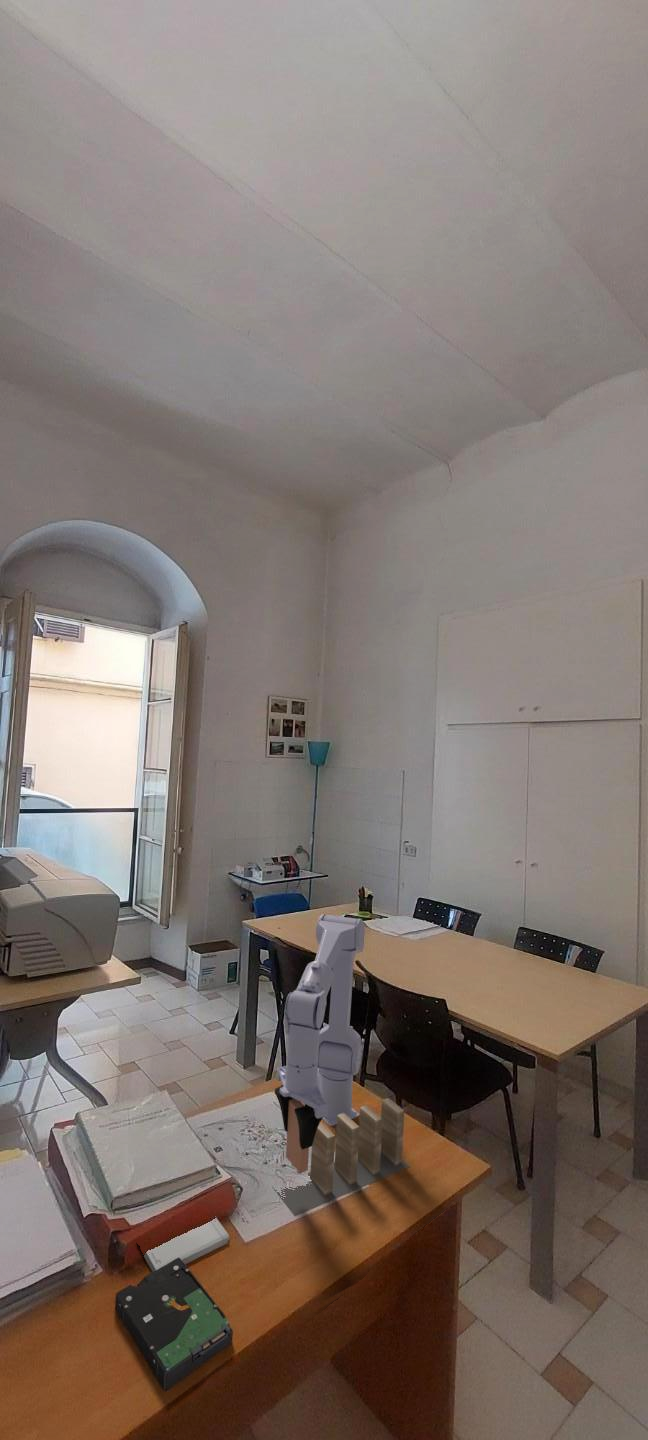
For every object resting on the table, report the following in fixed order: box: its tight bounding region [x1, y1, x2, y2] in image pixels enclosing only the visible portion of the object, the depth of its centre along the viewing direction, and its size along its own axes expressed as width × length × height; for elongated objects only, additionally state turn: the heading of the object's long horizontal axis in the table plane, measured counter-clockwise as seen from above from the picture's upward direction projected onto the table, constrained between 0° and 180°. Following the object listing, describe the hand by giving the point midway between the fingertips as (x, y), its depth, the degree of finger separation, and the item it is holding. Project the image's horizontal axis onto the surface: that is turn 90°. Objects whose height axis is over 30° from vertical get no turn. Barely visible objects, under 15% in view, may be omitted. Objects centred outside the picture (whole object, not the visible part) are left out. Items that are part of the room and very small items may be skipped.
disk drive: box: [114, 1258, 234, 1392], centre depth 85 cm, size 10×3×15 cm
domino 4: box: [358, 1104, 382, 1175], centre depth 120 cm, size 2×5×10 cm, turn 34°
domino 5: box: [380, 1097, 405, 1166], centre depth 123 cm, size 2×5×10 cm, turn 34°
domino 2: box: [309, 1121, 336, 1195], centre depth 114 cm, size 2×5×10 cm, turn 33°
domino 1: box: [285, 1099, 310, 1174], centre depth 111 cm, size 2×5×10 cm, turn 34°
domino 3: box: [334, 1113, 359, 1185], centre depth 117 cm, size 2×5×10 cm, turn 34°
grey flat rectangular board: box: [273, 1153, 411, 1217], centre depth 116 cm, size 8×26×1 cm, turn 124°
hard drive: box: [143, 1217, 230, 1273], centre depth 99 cm, size 2×8×12 cm
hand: (298, 1137), depth 111 cm, fingers closed on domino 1, 5 cm apart
